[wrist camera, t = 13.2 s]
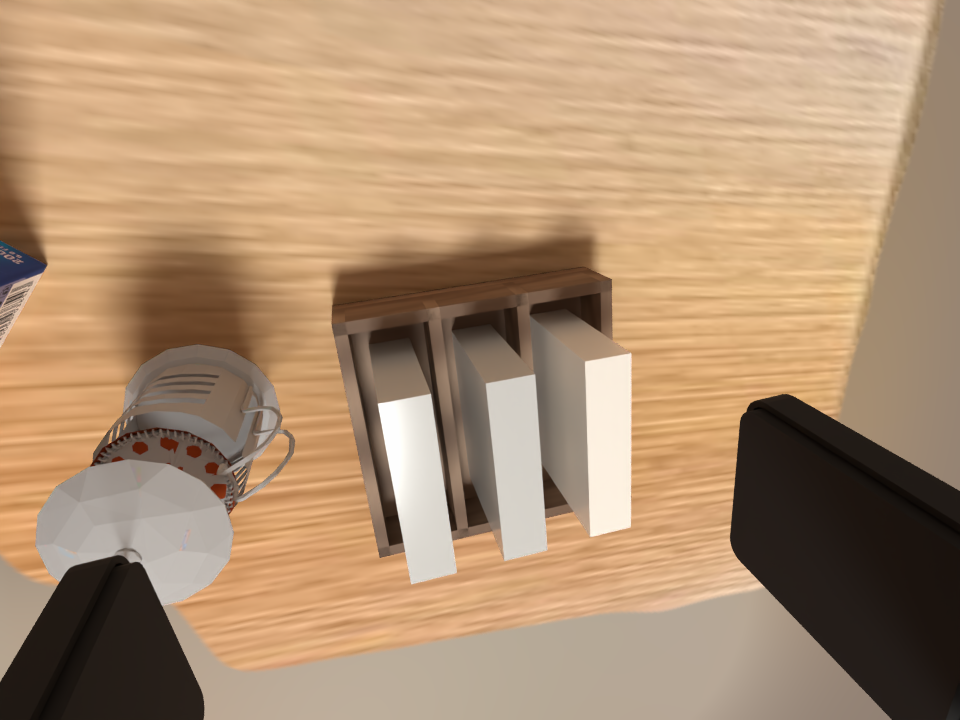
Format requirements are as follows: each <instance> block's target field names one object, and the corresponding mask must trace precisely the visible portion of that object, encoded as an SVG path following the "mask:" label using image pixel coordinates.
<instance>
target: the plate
mask: <svg viewBox="0 0 960 720" xmlns="http://www.w3.org/2000/svg"><path fill="white" fill-rule="evenodd" d="M530 329H531V343H532V357H533V371H534V373H535V379H536V393H537V408H538V422H539V436H540V451H541V463H542V465H543V466H544V468H545V469H546V471H547V472H548V474H549V475H550V477H551V478H552V480H553V481H554V483H555V485H556V486H557V488H558V489H559V491H560V492H561V494H562V495H563V497H564V498H565V500H566V501H567V503H568V504H569V506H570V507H571V509H572V510H573V512H574V513H575V515H576V516H577V518H578V519H579V521H580V522H581V524H582V525H583V527H584V528H585V530H586V531H587V533H588V534H589V536H590V537H593V536H597V535H601V534H605V533H609V532H613V531H617V530H621V529H625V528H629V527H631V353H630V352H629V351H627V350H626V349H624V348H623V347H621V346H620V345H618V344H617V343H615V342H614V341H613V340H611V339H610V338H608V337H607V336H605V335H604V334H602V333H601V332H599V331H598V330H596V329H595V328H593V327H592V326H590V325H589V324H587V323H586V322H584V321H583V320H581V319H580V318H578V317H577V316H575V315H574V314H572V313H571V312H569V311H568V310H566V309H562V310H556V311H550V312H544V313H538V314H532V315H530Z"/></svg>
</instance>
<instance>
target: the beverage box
mask: <svg viewBox="0 0 960 720" xmlns="http://www.w3.org/2000/svg"><path fill="white" fill-rule="evenodd" d="M46 267H47V265H46V264H44V263H42V262H40V261H38V260H37V259H35V258H33V257H31V256H29V255H27V254H25V253H23V252H21V251H19V250H17V249H16V248H14V247H12V246H10V245H8V244H6V243H4V242H2V241H0V348H1V346H2V344H3V342H4V341H5V339H6V337H7V335H8V334H9V332H10V330H11V328H12V327H13V325H14V323H15V321H16V320H17V318H18V316H19V314H20V313H21V311H22V309H23V307H24V305H25V304H26V302H27V300H28V298H29V297H30V295H31V293H32V291H33V290H34V288H35V286H36V284H37V283H38V281H39V279H40V277H41V276H42V274H43V272H44V270H45V269H46Z"/></svg>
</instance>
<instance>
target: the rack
mask: <svg viewBox="0 0 960 720" xmlns="http://www.w3.org/2000/svg"><path fill="white" fill-rule="evenodd" d="M562 309H566V310H568V311H569V312H571V313H572V314H574V315H575V316H577V317H578V318H580V319H581V320H583V321H584V322H586V323H587V324H589V325H590V326H592V327H593V328H595V329H596V330H598V331H599V332H601V333H602V334H604V335H605V336H607V337H608V338H610V339H611V340H612V279H610V278H608V277H605V276H603V275H601V274H599V273H597V272H594V271H592V270H590V269H588V268H586V267H581V268H574V269H568V270H561V271H555V272H548V273H542V274H535V275H529V276H523V277H516V278H510V279H503V280H497V281H490V282H484V283H477V284H471V285H464V286H458V287H452V288H445V289H439V290H432V291H426V292H419V293H413V294H406V295H400V296H394V297H387V298H381V299H374V300H368V301H361V302H355V303H348V304H342V305H335V306H332V329H333V333H334V338H335V343H336V348H337V353H338V358H339V363H340V367H341V372H342V377H343V382H344V387H345V392H346V396H347V401H348V406H349V411H350V416H351V421H352V426H353V430H354V435H355V440H356V445H357V450H358V455H359V460H360V464H361V469H362V474H363V479H364V484H365V489H366V493H367V498H368V503H369V508H370V513H371V518H372V523H373V527H374V532H375V537H376V542H377V547H378V552H379V557H380V558H381V557H386V556H390V555H394V554H398V553H402V552H405V548H404V542H403V537H402V532H401V526H400V521H399V515H398V510H397V504H396V499H395V494H394V488H393V483H392V477H391V472H390V467H389V461H388V456H387V450H386V445H385V439H384V434H383V429H382V423H381V418H380V412H379V407H378V401H377V395H376V389H375V382H374V376H373V370H372V364H371V357H370V351H369V344H375V343H381V342H387V341H393V340H399V339H405V338H409V339H410V341H411V344H412V346H413V349H414V352H415V354H416V357H417V359H418V362H419V364H420V367H421V370H422V372H423V375H424V377H425V380H426V382H427V385H428V388H429V390H430V393H431V398H432V405H433V411H434V418H435V425H436V432H437V439H438V446H439V453H440V460H441V467H442V473H443V480H444V487H445V494H446V501H447V508H448V515H449V522H450V528H451V535H452V541H453V540H457V539H461V538H465V537H469V536H473V535H478V534H482V533H486V532H490V531H492V529H491V527H490V525H489V522H488V520H487V517H486V515H485V512H484V510H483V508H482V505H481V503H480V500H479V498H478V495H477V493H476V490H475V488H474V486H473V483H472V481H471V478H470V475H469V467H468V459H467V451H466V443H465V435H464V427H463V419H462V411H461V403H460V395H459V387H458V379H457V371H456V363H455V355H454V347H453V339H452V330H458V329H464V328H470V327H475V326H481V325H487V324H490V325H491V326H492V327H493V328H494V329H495V330H496V331H497V332H498V334H499V335H500V336H501V337H502V338H503V339H504V340H505V341H506V342H507V344H508V345H509V346H510V347H511V348H512V349H513V350H514V351H515V352H516V353H517V355H518V356H519V357H520V358H521V359H522V360H523V361H524V362H525V363H526V365H527V366H528V367H529V368H530V369H531V370H532V371H533V357H532V343H531V329H530V315H532V314H538V313H544V312H550V311H556V310H562ZM533 372H534V371H533ZM541 465H542V463H541ZM542 480H543V494H544V508H545V518H549V517H553V516H557V515H561V514H566V513H570V512H573V510H572V509H571V507H570V506H569V504H568V503H567V501H566V500H565V498H564V497H563V495H562V494H561V492H560V491H559V489H558V488H557V486H556V485H555V483H554V481H553V480H552V478H551V477H550V475H549V474H548V472H547V471H546V469H545V468H544V466H543V465H542Z"/></svg>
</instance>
